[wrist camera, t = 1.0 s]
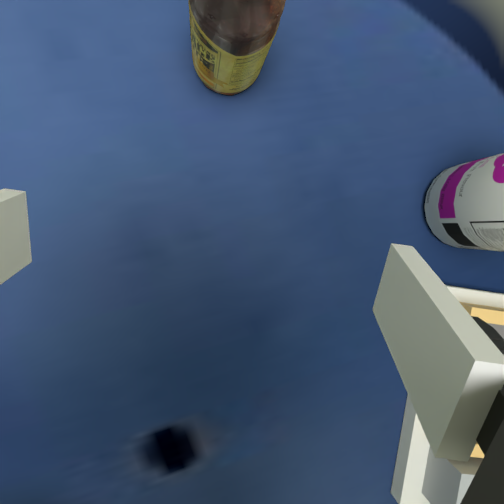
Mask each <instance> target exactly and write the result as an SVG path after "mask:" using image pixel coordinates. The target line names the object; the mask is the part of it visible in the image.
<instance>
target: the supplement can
mask: <svg viewBox="0 0 504 504" xmlns="http://www.w3.org/2000/svg"><path fill="white" fill-rule="evenodd" d="M424 208H425V214H426V221H427V223H428V225H429V227H430V229H431V230H432V232H433V234H434V235H435V236H436V237H438V238H439V239H440V240H441V241H442V242H443V243H445V244H448V245H451V246H453V247H456V248H468V249H481V250H494V251H504V153H503V154H499V155H495V156H491V157H487V158H483V159H479V160H475V161H471V162H467V163H463V164H459V165H456V166H454V167H451V168H448V169H446V170H444V171H443V172H442V173H441V174H440V175H438V176H437V177H436V178H435V179H434V180H433V182H432V184H431V186H430V188H429V189H428V191H427V195H426V200H425V206H424Z"/></svg>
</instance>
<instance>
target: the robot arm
mask: <svg viewBox="0 0 504 504" xmlns="http://www.w3.org/2000/svg"><path fill="white" fill-rule="evenodd" d="M31 262H32V258H31V246H30V235H29V223H28V212H27V201H26V192H25V191H18V190H11V189H2V190H0V285H1V284H2V283H3V282H5V281H6V280H7V279H9V278H10V277H11V276H13V275H14V274H16V273H17V272H18V271H20V270H21V269H22V268H24V267H25V266H27V265H28V264H29V263H31ZM373 312H374V315H375V317H376V320H377V322H378V324H379V327H380V329H381V331H382V334H383V336H384V338H385V341H386V343H387V346H388V348H389V350H390V353H391V355H392V357H393V360H394V362H395V364H396V367H397V369H398V372H399V374H400V376H401V379H402V381H403V383H404V386H405V388H406V390H407V393H408V395H409V398H410V400H411V402H412V405H413V407H414V409H415V412H416V414H417V416H418V419H419V421H420V423H421V426H422V428H423V431H424V433H425V435H426V438H427V440H428V442H429V445H430V447H431V449H432V452H433V454H434V457H437V458H444V459H451V460H458V461H465V462H468V460H469V458H470V456H471V454H472V451H473V449H474V447H475V445H476V443H478V445H479V446H480V448H481V450H482V452H483V454H484V455H485V456H484V458H483V460H482V462H481V464H480V466H479V468H478V470H477V472H476V474H475V476H474V478H473V480H472V482H471V484H470V486H469V488H468V490H467V492H466V494H465V495H464V497H463V499H462V501H461V503H460V504H504V339H503V338H502V336H501V335H500V334H499V333H498V332H497V331H496V330H495V329H494V328H493V327H492V326H490V325H489V324H487V323H486V322H485V321H483V320H482V319H480V318H479V317H475V316H470V314H469V313H468V312H467V311H466V310H465V308H464V307H463V306H462V305H461V304H460V302H459V301H458V300H457V299H456V298H455V296H454V295H453V294H452V293H451V292H450V290H449V289H448V288H447V287H446V286H445V284H444V283H443V282H442V281H441V280H440V279H439V277H438V276H437V275H436V274H435V273H434V271H433V270H432V269H431V268H430V267H429V265H428V264H427V263H426V262H425V261H424V259H423V258H422V257H421V256H420V255H419V253H418V252H417V251H416V250H415V249H414V247H413V246H406V245H399V244H392V243H391V246H390V250H389V253H388V257H387V260H386V264H385V267H384V271H383V274H382V278H381V282H380V285H379V289H378V292H377V296H376V299H375V303H374V306H373Z"/></svg>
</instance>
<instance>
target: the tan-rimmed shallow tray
mask: <svg viewBox="0 0 504 504" xmlns="http://www.w3.org/2000/svg"><path fill="white" fill-rule="evenodd" d="M445 286H446V287H447V288H448V289H449V290H450V292H451V293H452V294H453V295H454V296H455V298H456V299H457V300H458V301H459V302H460V304H461V305H462V306H463V307H464V308H465V310H466V311H467V312H468V313H469V314H470V316H475V317H479V318H480V319H482V320H483V321H485V322H486V323H487V324H489V325H490V326H492V327H493V328H494V329H495V330H496V331H497V332H498V333H499V334H500V335H501V336H502V338H503V339H504V294H502V293H495V292H489V291H482V290H475V289H469V288H462V287H455V286H449V285H445ZM484 456H485V455H484V454H483V452H482V450H481V448H480V446H479V445H478V443H476V445H475V447H474V449H473V451H472V454H471V456H470V458H469V460H468V462H465V461H458V460H451V459H444V458H437V457H434V454H433V452H432V449H431V447H430V445H429V442H428V440H427V438H426V435H425V433H424V431H423V428H422V426H421V423H420V421H419V419H418V416H417V414H416V412H415V409H414V407H413V405H412V402H411V400H410V398H409V395H408V396H407V401H406V407H405V413H404V419H403V424H402V430H401V436H400V442H399V447H398V453H397V459H396V465H395V470H394V476H393V482H392V488H391V494H392V495H393V497H394V498H395V499H396V501H397V502H398V504H460V503H461V501H462V499H463V497H464V495H465V494H466V492H467V490H468V488H469V486H470V484H471V482H472V480H473V478H474V476H475V474H476V472H477V470H478V468H479V466H480V464H481V462H482V460H483V458H484Z"/></svg>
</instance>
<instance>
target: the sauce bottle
mask: <svg viewBox="0 0 504 504" xmlns="http://www.w3.org/2000/svg"><path fill="white" fill-rule="evenodd" d="M285 1H286V0H189V13H190V32H191V34H190V35H191V44H192V57H193V63H194V67H195V70H196V72H197V74H198V76H199V77H200V79H201V80H202V81H203V83H204V85H205V86H206V87H207V88H210V89H211V90H213V91H215V92H217V93H221V94H225V95H234V94H237V93H240V92H241V91H244V90H245V89H247V88H248V87H249V86H250V85H252V84H253V83H254V81H255V80H256V78H257V77H258V75H259V73H260V70H261V68H262V66H263V63H264V61H265V58H266V56H267V53H268V51H269V49H270V46H271V44H272V41H273V39H274V36H275V34H276V31H277V29H278V26H279V22H280V17H281V15H282V12H283V9H284V6H285Z"/></svg>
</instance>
